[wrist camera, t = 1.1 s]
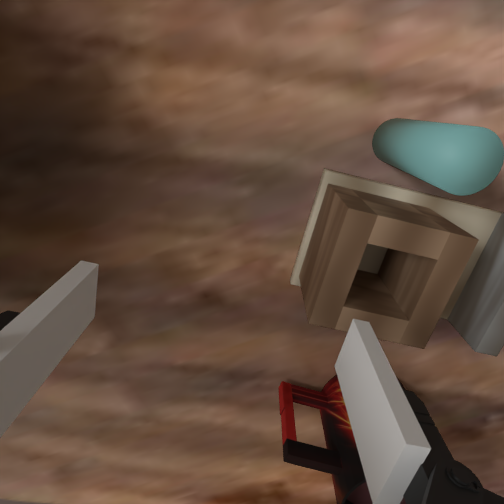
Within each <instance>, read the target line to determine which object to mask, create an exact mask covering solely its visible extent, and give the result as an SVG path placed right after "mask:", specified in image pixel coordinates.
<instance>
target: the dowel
mask: <svg viewBox="0 0 504 504" xmlns="http://www.w3.org/2000/svg"><path fill="white" fill-rule="evenodd" d="M372 146H373V151H374V153H375V155H376V156H377V157H378V158H379V159H380V160H381V161H383V162H386V163H388V164H390V165H392V166H394V167H396V168H398V169H400V170H402V171H404V172H406V173H409V174H411V175H413V176H415V177H417V178H419V179H421V180H423V181H425V182H427V183H430V184H432V185H434V186H436V187H438V188H440V189H442V190H444V191H446V192H448V193H451V194H454V195H462V196H463V195H470V194H474V193H476V192H479V191H481V190H482V189H484V188H485V187H487V186H488V185H489V184H490V183H491V182H492V181H493V180H494V179H495V178H496V176H497V175H498V173H499V171H500V170H501V167H502V164H503V160H504V148H503V144H502V142H501V140H500V138H499V137H498V136H497V135H496V134H495V133H494V132H493V131H491V130H489V129H487V128H484V127H477V126H467V125H458V124H448V123H439V122H429V121H420V120H410V119H401V118H395V119H390V120H388V121H386V122H384V123H383V124H382V125H380V126H379V128H378V129H377V130H376V132H375V134H374V137H373V141H372Z"/></svg>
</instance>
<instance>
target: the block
mask: <svg viewBox="0 0 504 504" xmlns="http://www.w3.org/2000/svg"><path fill="white" fill-rule="evenodd" d="M478 241H479V239H477V238H476V237H474V236H473V235H471V234H469V233H468V232H466V231H465V230H463V229H461V228H460V227H458V226H457V225H455V224H454V223H452V222H450V221H449V220H447V219H446V218H444V217H442V216H441V215H439V214H438V213H436V212H434V211H433V210H431V209H430V208H427V207H423V206H419V205H415V204H411V203H407V202H403V201H399V200H395V199H390V198H386V197H382V196H378V195H374V194H370V193H366V192H362V191H358V190H354V189H349V188H345V187H341V186H337V185H333V184H329V183H328V185H327V188H326V192H325V195H324V198H323V201H322V204H321V207H320V211H319V214H318V217H317V220H316V223H315V226H314V230H313V233H312V236H311V239H310V242H309V246H308V249H307V252H306V255H305V258H304V261H303V265H302V268H301V271H300V274H299V280H300V285H301V290H302V294H303V299H304V304H305V309H306V314H307V319H308V323H309V324H312V325H317V326H321V327H326V328H331V329H335V330H340V331H344V332H348V330H349V328H350V325H351V323H352V320H353V319H357V320H362V321H367V322H369V323H370V325H371V327H372V329H373V331H374V333H375V335H376V337H377V339H381V340H385V341H390V342H394V343H399V344H404V345H408V346H413V347H417V348H422V349H424V348H425V346H426V344H427V342H428V340H429V338H430V336H431V334H432V332H433V330H434V328H435V326H436V324H437V322H438V320H439V318H440V316H441V314H442V312H443V310H444V308H445V306H446V304H447V302H448V300H449V298H450V296H451V294H452V292H453V290H454V288H455V286H456V284H457V282H458V280H459V278H460V276H461V274H462V272H463V271H464V269H465V267H466V265H467V263H468V261H469V259H470V257H471V255H472V253H473V251H474V249H475V247H476V245H477V243H478ZM367 243H368V244H373V245H377V246H381V247H385V248H388V249H387V252H386V254H385V257H384V259H383V261H382V264H381V266H380V269H379V271H378V274H375V273H371V272H367V271H362V270H358V267H359V264H360V261H361V259H362V256H363V253H364V251H365V248H366V246H367Z"/></svg>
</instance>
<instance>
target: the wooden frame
mask: <svg viewBox="0 0 504 504" xmlns="http://www.w3.org/2000/svg"><path fill="white" fill-rule="evenodd" d="M328 183H329V184H333V185H337V186H341V187H345V188H349V189H354V190H358V191H362V192H366V193H370V194H374V195H378V196H382V197H386V198H390V199H395V200H399V201H403V202H407V203H411V204H415V205H419V206H423V207H427V208H430V209H431V210H433V211H434V212H436V213H438V214H439V215H441V216H442V217H444V218H446V219H447V220H449V221H450V222H452V223H454V224H455V225H457V226H458V227H460V228H461V229H463V230H465V231H466V232H468V233H469V234H471V235H473V236H474V237H476V238H477V239H479V241H478V243H477V245H476V247H475V249H474V251H473V253H472V255H471V257H470V259H469V261H468V263H467V265H466V267H465V269H464V271H463V272H462V274H461V276H460V278H459V280H458V282H457V284H456V286H455V288H454V290H453V292H452V294H451V296H450V298H449V300H448V302H447V304H446V306H445V308H444V310H443V312H442V314H441V316H440V318H443V319H447V320H448V321H449V322H450V323H451V324H452V325H453V327H454V328H455V329H456V330H457V331H458V332H459V334H460V335H461V336H462V337H463V338H464V339H465V341H466V342H467V343H468V344H469V345H470V346H471V348H472V349H473V350H474V351H475V352H479V353H484V354H488V355H493V356H497V355H498V354H499V352H500V350H501V349H502V347H503V345H504V212H500V211H496V210H492V209H487V208H483V207H479V206H475V205H471V204H467V203H463V202H459V201H455V200H451V199H447V198H443V197H439V196H435V195H431V194H427V193H422V192H418V191H414V190H410V189H406V188H402V187H398V186H394V185H390V184H386V183H382V182H378V181H374V180H370V179H366V178H362V177H357V176H353V175H349V174H345V173H341V172H337V171H333V170H329V169H325V168H324V170H323V174H322V177H321V180H320V183H319V187H318V190H317V193H316V196H315V200H314V203H313V206H312V209H311V213H310V216H309V219H308V222H307V226H306V229H305V232H304V236H303V239H302V242H301V245H300V249H299V252H298V255H297V258H296V262H295V265H294V268H293V271H292V275H291V278H290V283H291V284H292V285H296V286H301V285H300V280H299V274H300V271H301V268H302V265H303V261H304V258H305V255H306V252H307V249H308V246H309V242H310V239H311V236H312V233H313V230H314V226H315V223H316V220H317V217H318V214H319V211H320V207H321V204H322V201H323V198H324V195H325V192H326V188H327V185H328ZM387 249H388V248H385V247H381V246H377V245H373V244H368V243H367V246H366V248H365V251H364V253H363V256H362V259H361V261H360V264H359V267H358V270H362V271H367V272H371V273H375V274H378V271H379V269H380V266H381V264H382V261H383V259H384V257H385V254H386V252H387Z"/></svg>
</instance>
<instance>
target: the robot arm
mask: <svg viewBox="0 0 504 504" xmlns="http://www.w3.org/2000/svg"><path fill="white" fill-rule="evenodd" d="M98 267H99V264H95V263H91V262H86V261H80V262H79V263H78V264H76V265H75V266H74V267H73V268H72V269H71V270H70V271H68V272H67V273H66V274H65V275H64V276H63V277H62V278H60V279H59V280H58V281H57V282H56V283H55V284H53V285H52V286H51V287H50V288H49V289H48V290H47V291H45V292H44V293H43V294H42V295H41V296H40V297H39V298H37V299H36V300H35V301H34V302H33V303H32V304H31V305H29V306H28V307H27V308H26V309H25V310H24V311H22V312H21V313H18V312H13V311H6V312H3V313H1V314H0V438H1V436H2V435H3V434H4V432H5V431H6V430H7V429H8V427H9V426H10V425H11V424H12V422H13V421H14V420H15V418H16V417H17V416H18V415H19V413H20V412H21V411H22V409H23V408H24V407H25V406H26V404H27V403H28V402H29V400H30V399H31V398H32V397H33V395H34V394H35V393H36V392H37V390H38V389H39V388H40V386H41V385H42V384H43V383H44V381H45V380H46V379H47V377H48V376H49V375H50V374H51V372H52V371H53V370H54V368H55V367H56V366H57V365H58V363H59V362H60V361H61V360H62V358H63V357H64V356H65V354H66V353H67V352H68V351H69V349H70V348H71V347H72V345H73V344H74V343H75V342H76V340H77V339H78V338H79V336H80V335H81V334H82V333H83V331H84V330H85V329H86V327H87V326H88V325H89V324H90V322H91V321H92V320H93V319H94V317H95V306H96V293H97V280H98ZM335 370H336V373H337V377H338V380H339V384H340V388H341V391H342V395H343V398H344V402H345V406H346V409H347V413H348V416H349V420H350V424H351V427H352V431H353V434H354V438H355V442H356V445H357V449H358V452H359V456H360V460H361V463H362V467H363V471H364V474H365V478H366V481H367V485H368V489H369V492H370V496H371V499H372V503H373V504H400V502H401V501H402V499H403V497H404V499H405V502H406V504H504V497H501V496H499V495H497V494H495V493H493V492H491V491H488V490H486V489H484V488H483V486H482V485H481V483H480V481H479V479H478V478H477V477H476V476H475V474H474V473H473V472H472V471H471V470H470V469H468V468H467V467H466V466H464V465H463V464H462V463H460V462H458V461H456V460H454V459H453V457H452V455H451V453H450V451H449V450H448V448H447V446H446V444H445V442H444V440H443V438H442V437H441V435H440V433H439V431H438V429H437V427H435V424H434V422H433V420H432V418H431V417H430V416H429V415H430V414H429V413H428V411H427V409H426V407H425V405H424V403H423V402H422V401H421V400H420V399H419V398H418V397H417V396H416V395H415V394H414V393H413V392H411V391H407V390H402V388H401V386H400V384H399V382H398V380H397V378H396V376H395V374H394V372H393V370H392V367H391V365H390V363H389V361H388V359H387V357H386V355H385V353H384V351H383V349H382V347H381V345H380V343H379V341H378V339H377V337H376V335H375V333H374V331H373V329H372V327H371V325H370V323H369V322H367V321H362V320H357V319H353V320H352V323H351V325H350V328H349V330H348V333H347V336H346V338H345V341H344V343H343V346H342V348H341V351H340V353H339V356H338V359H337V361H336V364H335Z"/></svg>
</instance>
